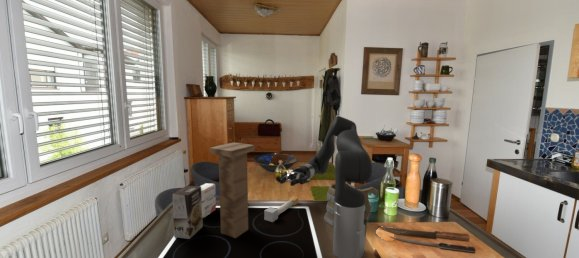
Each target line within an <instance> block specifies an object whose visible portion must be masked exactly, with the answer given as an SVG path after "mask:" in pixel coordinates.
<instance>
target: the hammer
mask: <svg viewBox="0 0 579 258" xmlns="http://www.w3.org/2000/svg"><path fill="white" fill-rule="evenodd" d="M297 204H299V197H297V196H294V195H293V196H290V198H288V201H286V202H285V203H283V204H282V205H280V206H279V207H277V208H275V207H271V206H269V207H268V208H266V209H265V210H264V212H263V213H264V216H263V217H264V218H263V219H264V221H267V222H271V223H274V222H275V221H277V220H278V219H279V216H280V214H283V212H285V211H286V210H288V209H290V208H291V207H292V206H296V205H297Z"/></svg>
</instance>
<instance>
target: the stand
mask: <svg viewBox="0 0 579 258" xmlns="http://www.w3.org/2000/svg"><path fill="white" fill-rule="evenodd" d="M255 149H256V148H255V144H248V143H241V142H229V143H226V144H220V145H217V146H213V147H209V154H210V155H211V154H212V155H215V156H216V155H217V156H218V177H219V178H218V179H219V181H218V183H219V211H220V212H219V213H220V215H219V216H220V219H219V220H220V234H222V235H225V236H228V237H231V238H233V239H237V238H239V237H240V236H241V235H242V234H244V233H246V232H247V231H249V201H248V200H249V195H248V194H249V193H248V192H249V191H248V189H249V187H248V186H249V185H248V153H251V152H254V151H255Z"/></svg>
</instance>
